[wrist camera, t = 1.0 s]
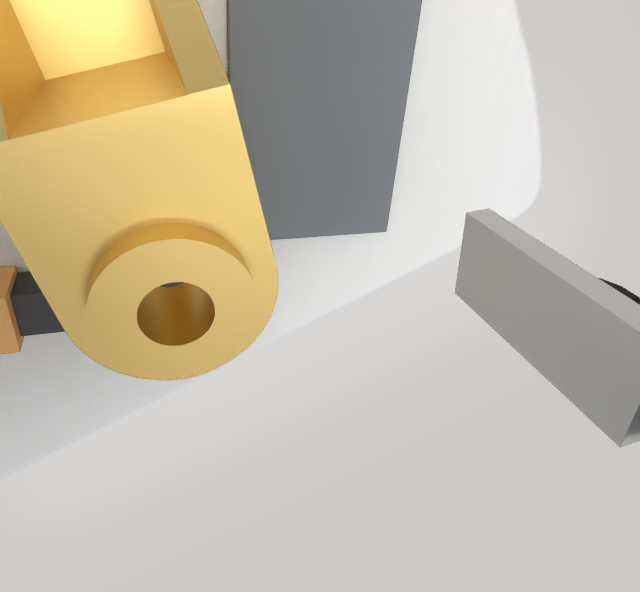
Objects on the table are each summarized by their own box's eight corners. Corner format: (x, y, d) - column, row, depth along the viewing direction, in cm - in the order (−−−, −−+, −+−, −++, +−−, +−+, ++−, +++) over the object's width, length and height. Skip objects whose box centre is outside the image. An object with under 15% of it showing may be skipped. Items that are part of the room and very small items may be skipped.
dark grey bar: (-22, 322, 35) (-36, 358, 32) (-38, 269, 33) (-55, 303, 30) (231, 296, 40) (241, 325, 37) (230, 250, 38) (241, 276, 35)
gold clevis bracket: (240, 223, 37) (304, 360, 25) (111, 262, 36) (108, 429, 23) (138, -132, 26) (159, -223, 13) (-58, -97, 24) (-254, -162, 11)
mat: (230, 237, 38) (232, 242, 37) (225, -65, 28) (228, -65, 28) (382, 227, 41) (386, 231, 41) (422, -43, 32) (428, -44, 31)
